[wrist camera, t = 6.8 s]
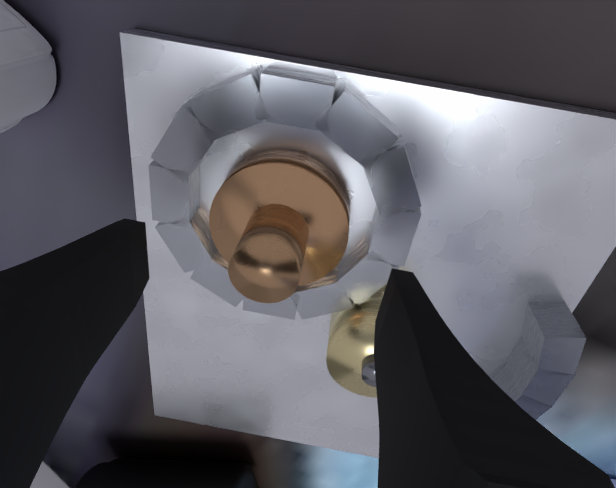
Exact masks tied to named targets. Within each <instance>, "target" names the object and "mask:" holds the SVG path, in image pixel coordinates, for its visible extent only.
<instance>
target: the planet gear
mask: <svg viewBox="0 0 616 488" xmlns="http://www.w3.org/2000/svg"><path fill="white" fill-rule="evenodd" d="M349 222H350V207H349V201H348V197H347V195H346V192H345V190H344V188H343V186H342V184H341V183H340V181H339V180H338V178H337V177H336V176H335V175H334V174H333V173H332V172H331V171H330V170H329V169H328V168H327V167H326V166H324V165H323V164H322V163H320V162H319V161H317V160H315V159H314V158H311V157H309V156H307V155H304V154H301V153H298V152H293V151H287V150H272V151H265V152H261V153H258V154H255V155H253V156H250V157H248V158H247V159H245V160H243V161H242V162H241V163H239V164H238V165H237V166H236V167H235V168H234V169H233V170H232V171H231V172H230V174H229V175H228V177H227V178H226V180H225V181H224V183H223V184H222V186H221V187H220V189H219V190H218V192H217V193H216V195H215V197H214V199H213V201H212V205H211V208H210V214H209V226H210V232H211V236H212V239H213V241H214V244H215V246H216V248H217V249H218V251H219V253H220V254H221V255H222V257H223V258H224V259H225V260H226V261H227V262H228V263H229V266H228V275H229V279H230V281H231V283H232V285H233V286H234V287H235V289H236V290H237V291H238V292H239V293H241V294H242V295H243V296H245V297H246V298H248V299H250V300H253V301H256V302H260V303H277V302H281V301H283V300H285V299H287V298H289V297H290V296H291V295H292V294H293V293H294V292H295V291H296V289H297V287H298V286H302V285H306V284H309V283H312V282H314V281H317V280H319V279H321V278H322V277H324V276H325V275H327V274H328V273H330V272H331V271H332V270H333V269H334V268H335V267H336V266H337V264H338V263H339V262H340V260H341V259H342V257H343V255H344V253H345V250H346V247H347V243H348V237H349Z"/></svg>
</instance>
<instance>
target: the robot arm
mask: <svg viewBox="0 0 616 488" xmlns="http://www.w3.org/2000/svg"><path fill="white" fill-rule="evenodd" d="M149 278H150V277H149V264H148V250H147V237H146V224H145V222H140V221H135V220H130V219H123V220H120V221H117V222H115V223H113V224H110V225H108V226H106V227H104V228H102V229H100V230H97V231H95V232H93V233H91V234H89V235H87V236H85V237H82V238H80V239H78V240H76V241H74V242H72V243H69V244H67V245H65V246H63V247H61V248H58V249H56V250H54V251H51V252H49V253H46V254H44V255H42V256H39V257H37V258H34V259H32V260H30V261H27V262H25V263H22V264H20V265H17V266H14V267H11V268H9V269H6V270H3V271H0V488H30V485H31V483H32V481H33V479H34V477H35V475H36V473H37V471H38V469H39V467H40V465H41V463H42V461H43V459H44V456H45V454H46V452H47V450H48V448H49V446H50V444H51V442H52V440H53V438H54V436H55V434H56V432H57V431H58V429H59V427H60V425H61V423H62V421H63V419H64V417H65V415H66V413H67V411H68V409H69V408H70V406H71V404H72V402H73V400H74V399H75V397H76V395H77V393H78V391H79V390H80V388H81V386H82V384H83V382H84V381H85V379H86V377H87V376H88V374H89V373H90V371H91V370H92V368H93V367H94V365H95V364H96V362H97V361H98V359H99V358H100V357H101V355H102V354H103V352H104V351H105V349H106V348H107V347H108V345H109V344H110V342H111V341H112V340H113V338H114V337H115V335H116V334H117V332H118V331H119V330H120V328H121V327H122V325H123V324H124V322H125V321H126V320H127V318H128V317H129V315H130V314H131V312H132V311H133V309H134V308H135V306H136V304H137V302H138V301H139V299H140V297H141V295H142V293H143V291H144V289H145V287H146V285H147V283H148V280H149ZM374 364H375V378H376V391H377V404H378V417H379V470H378V488H616V480H615V479H610V477H609V475H607V474H606V473H605V472H603V471H602V470H601V469H599V468H598V467H596V466H595V465H594V464H592V463H591V462H589V461H588V460H587V459H585V458H584V457H583V456H581V455H580V454H578V453H577V452H576V451H574V450H573V449H571V448H570V447H569V446H567V445H566V444H565V443H563V442H562V441H561V440H559V439H558V438H557V437H556V436H554V435H553V434H552V433H551V432H550V431H548V430H547V429H546V428H545V427H543V426H542V425H541V424H540V423H538V422H537V421H536V420H535V419H534V418H533V417H531V416H530V415H529V414H528V413H527V412H526V411H524V410H523V409H522V408H521V407H520V406H519V405H518V404H517V403H516V402H515V401H514V400H513V399H511V398H510V397H509V396H508V395H507V394H506V393H505V392H504V391H503V390H502V389H501V388H500V387H499V386H498V385H497V384H496V383H495V382H494V381H493V380H492V379H491V378H490V377H489V376H488V375H487V374H486V373H485V371H484V370H483V369H482V368H481V367H480V366H479V365H478V364H477V363H476V362H475V360H474V359H473V358H472V357H471V356H470V355H469V353H468V352H467V351H466V350H465V349H464V347H463V346H462V345H461V343H460V342H459V341H458V340H457V338H456V337H455V336H454V334H453V333H452V332H451V330H450V329H449V328H448V326H447V325H446V323H445V322H444V320H443V319H442V317H441V316H440V314H439V313H438V311H437V310H436V308H435V307H434V305H433V304H432V302H431V301H430V299H429V297H428V296H427V294H426V292H425V291H424V289H423V288H422V286H421V284H420V283H419V281H418V279H417V278H416V276H415V275H414V273H413V272H409V271H404V270H398V269H393V268H392V269H391V272H390V276H389V279H388V282H387V285H386V288H385V292H384V295H383V298H382V301H381V304H380V308H379V311H378V314H377V317H376V320H375V335H374Z"/></svg>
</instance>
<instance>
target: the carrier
mask: <svg viewBox="0 0 616 488" xmlns="http://www.w3.org/2000/svg"><path fill="white" fill-rule="evenodd" d="M120 41H121V52H122V63H123V74H124V85H125V96H126V107H127V118H128V129H129V140H130V151H131V162H132V173H133V184H134V195H135V206H136V217H137V221H140V222H145V224H146V237H147V250H148V264H149V277H150V278H149V280H148V283H147V285H146V287H145V289H144V291H143V294H144V305H145V316H146V327H147V338H148V349H149V360H150V371H151V382H152V393H153V404H154V415H156V416H162V417H167V418H172V419H177V420H183V421H188V422H193V423H198V424H204V425H209V426H214V427H219V428H225V429H230V430H235V431H240V432H246V433H251V434H256V435H261V436H267V437H272V438H277V439H282V440H287V441H293V442H298V443H303V444H308V445H314V446H319V447H324V448H329V449H335V450H340V451H345V452H350V453H356V454H361V455H366V456H371V457H377V458H379V417H378V404H377V391H376V378H375V364H374V335H375V320H376V317H377V314H378V311H379V308H380V304H381V301H382V298H383V295H384V292H385V288H386V285H387V282H388V279H389V276H390V272H391V269H392V268H393V269H398V270H404V271H409V272H413V273H414V275H415V276H416V278H417V279H418V281H419V283H420V284H421V286H422V288H423V289H424V291H425V292H426V294H427V296H428V297H429V299H430V301H431V302H432V304H433V305H434V307H435V308H436V310H437V311H438V313H439V314H440V316H441V317H442V319H443V320H444V322H445V323H446V325H447V326H448V328H449V329H450V330H451V332H452V333H453V334H454V336H455V337H456V338H457V340H458V341H459V342H460V343H461V345H462V346H463V347H464V349H465V350H466V351H467V352H468V353H469V355H470V356H471V357H472V358H473V359H474V360H475V362H476V363H477V364H478V365H479V366H480V367H481V368H482V369H483V370H484V371H485V373H486V374H487V375H488V376H489V377H490V378H491V379H492V380H493V381H494V382H495V383H496V384H497V385H498V386H499V387H500V388H501V389H502V390H503V391H504V392H505V393H506V394H507V395H508V396H509V397H510V398H511V399H513V400H514V401H515V402H516V403H517V404H518V405H519V406H520V407H521V408H522V409H523V410H524V411H526V412H527V413H528V414H529V415H530V416H531V417H533V418H534V419H535V420H536V419H537V418H538V417H539V416H541V415H542V414H543V413H544V412H546V411H547V410H548V409H550V408H551V407H552V406H553V404H554V403H555V402H556V400H557V399H558V398H559V396H560V395H561V394H562V392H563V391H564V389H565V388H566V387H567V385H568V384H569V383H570V381H571V380H572V379H573V377H574V376H575V373H576V370H577V367H578V364H579V360H580V357H581V354H582V351H583V347H584V344H585V341H586V336H585V335H584V333H583V331H582V330H581V328H580V326H579V324H578V323H577V321H576V319H575V318H574V316H573V314H572V312H573V311H574V309H575V308H576V306H577V305H578V303H579V302H580V300H581V299H582V297H583V295H584V294H585V292H586V291H587V289H588V288H589V286H590V285H591V283H592V282H593V280H594V279H595V277H596V276H597V274H598V272H599V271H600V269H601V268H602V266H603V265H604V263H605V262H606V260H607V259H608V257H609V256H610V254H611V253H612V251H613V249H614V248H615V246H616V113H613V112H607V111H602V110H596V109H590V108H584V107H579V106H573V105H567V104H562V103H556V102H550V101H545V100H539V99H533V98H528V97H522V96H516V95H510V94H505V93H499V92H493V91H488V90H482V89H476V88H471V87H465V86H459V85H454V84H448V83H442V82H437V81H431V80H425V79H419V78H414V77H408V76H402V75H397V74H391V73H385V72H380V71H374V70H368V69H363V68H357V67H351V66H345V65H340V64H334V63H328V62H323V61H317V60H311V59H306V58H300V57H294V56H289V55H283V54H277V53H272V52H266V51H260V50H254V49H249V48H243V47H237V46H232V45H226V44H220V43H215V42H209V41H203V40H198V39H192V38H186V37H180V36H175V35H169V34H163V33H158V32H152V31H146V30H141V29H135V28H133V29H130V30H126V31H122V32H120ZM272 150H287V151H293V152H298V153H301V154H304V155H307V156H309V157H311V158H314V159H315V160H317V161H319V162H320V163H322V164H323V165H324V166H326V167H327V168H328V169H329V170H330V171H331V172H332V173H333V174H334V175H335V176H336V177H337V178H338V180H339V181H340V183H341V184H342V186H343V188H344V190H345V192H346V195H347V197H348V201H349V207H350V222H349V237H348V243H347V247H346V250H345V253H344V255H343V257H342V259H341V260H340V262H339V263H338V264H337V266H336V267H335V268H334V269H333V270H332V271H331V272H330V273H328V274H327V275H325V276H324V277H322V278H321V279H319V280H317V281H314V282H312V283H309V284H306V285H302V286H298V287H297V289H296V291H295V292H294V293H293V294H292V295H291V296H290V297H289V298H287V299H285V300H283V301H281V302H277V303H260V302H256V301H253V300H250V299H248V298H246V297H245V296H243V295H242V294H241V293H239V292H238V291H237V290H236V289H235V287H234V286H233V285H232V283H231V281H230V279H229V275H228V266H229V263H228V262H227V261H226V260H225V259H224V258H223V257H222V255H221V254H220V253H219V251H218V249H217V248H216V246H215V244H214V241H213V239H212V236H211V232H210V226H209V214H210V208H211V205H212V201H213V199H214V197H215V195H216V193H217V192H218V190H219V189H220V187H221V186H222V184H223V183H224V181H225V180H226V178H227V177H228V175H229V174H230V172H231V171H232V170H233V169H234V168H235V167H236V166H237V165H238V164H239V163H241V162H242V161H243V160H245V159H247V158H248V157H250V156H253V155H255V154H258V153H261V152H265V151H272Z"/></svg>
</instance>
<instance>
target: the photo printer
mask: <svg viewBox="0 0 616 488" xmlns="http://www.w3.org/2000/svg"><path fill="white" fill-rule="evenodd" d="M51 52H52V48H51V46H50V44H49V43H48V42H47V40H46V39H45V38H44V37H43V36H42V35H41V34H40V33H39V32H38V31H37V30H36V29H35V28H34V27H33V26H32V25H31V24H30V23H29V22H28V21H27V20H26V19H25V18H24V17H23V16H21V15H20V14H19V13H18V12H17V11H15V10H14V9H13V8H12V7H11V6H10V5H9V4H7V3H6V2H5V1H4V0H0V133H1V132H4V131H6V130H8V129H10V128H12V127H13V126H15V125H16V124H18V123H19V122H21V120H22V118H23V117H26V116H28V115H31V114H33V113H35V112H37V111H39V110H41V109H42V108H43V107H45V106H46V105H47V104H48V102H49V101H50V99H51V98H52V96H53V93H54V91H55V86H56V78H57V77H56V66H55V61H54V58H53V56H52V55H51V54H50V53H51Z"/></svg>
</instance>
